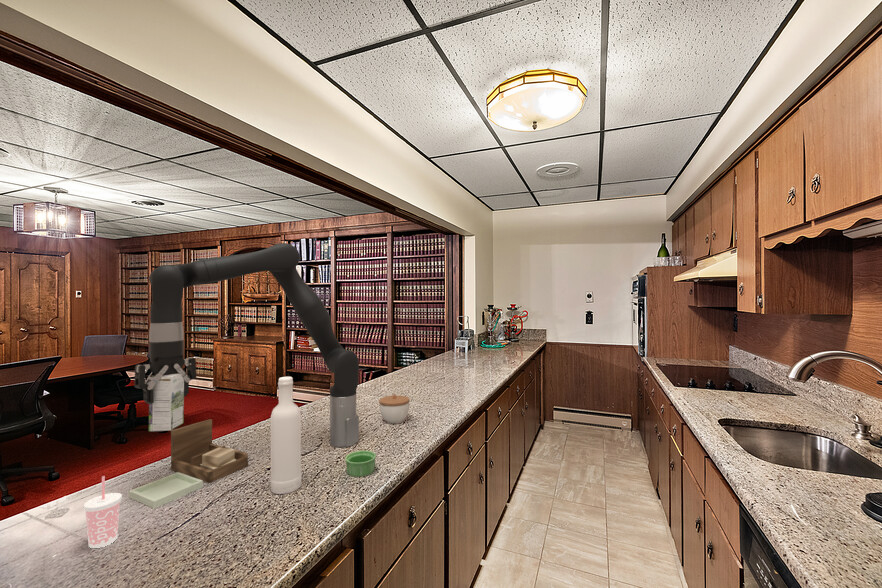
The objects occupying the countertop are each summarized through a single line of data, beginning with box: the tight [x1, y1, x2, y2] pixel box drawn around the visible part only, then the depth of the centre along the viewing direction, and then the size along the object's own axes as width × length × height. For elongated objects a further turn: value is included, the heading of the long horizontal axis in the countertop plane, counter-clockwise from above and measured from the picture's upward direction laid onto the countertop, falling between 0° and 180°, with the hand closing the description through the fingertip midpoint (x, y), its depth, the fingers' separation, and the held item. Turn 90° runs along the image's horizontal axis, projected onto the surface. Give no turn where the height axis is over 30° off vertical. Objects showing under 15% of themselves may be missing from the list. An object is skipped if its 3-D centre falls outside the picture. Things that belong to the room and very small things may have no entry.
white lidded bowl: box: [378, 393, 410, 424], centre depth 160 cm, size 13×13×11 cm
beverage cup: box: [83, 475, 123, 549], centre depth 81 cm, size 6×6×14 cm
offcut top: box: [202, 447, 236, 467], centre depth 115 cm, size 6×6×3 cm
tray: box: [128, 472, 204, 509], centre depth 102 cm, size 12×12×2 cm
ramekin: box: [344, 450, 377, 478], centre depth 114 cm, size 9×9×4 cm
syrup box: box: [148, 373, 185, 432], centre depth 103 cm, size 6×6×14 cm
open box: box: [170, 419, 249, 484], centre depth 117 cm, size 19×12×12 cm, turn 63°
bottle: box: [269, 376, 302, 495], centre depth 104 cm, size 8×8×30 cm
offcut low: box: [200, 459, 236, 470], centre depth 115 cm, size 7×7×3 cm
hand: (167, 399), depth 103 cm, fingers closed on syrup box, 8 cm apart
